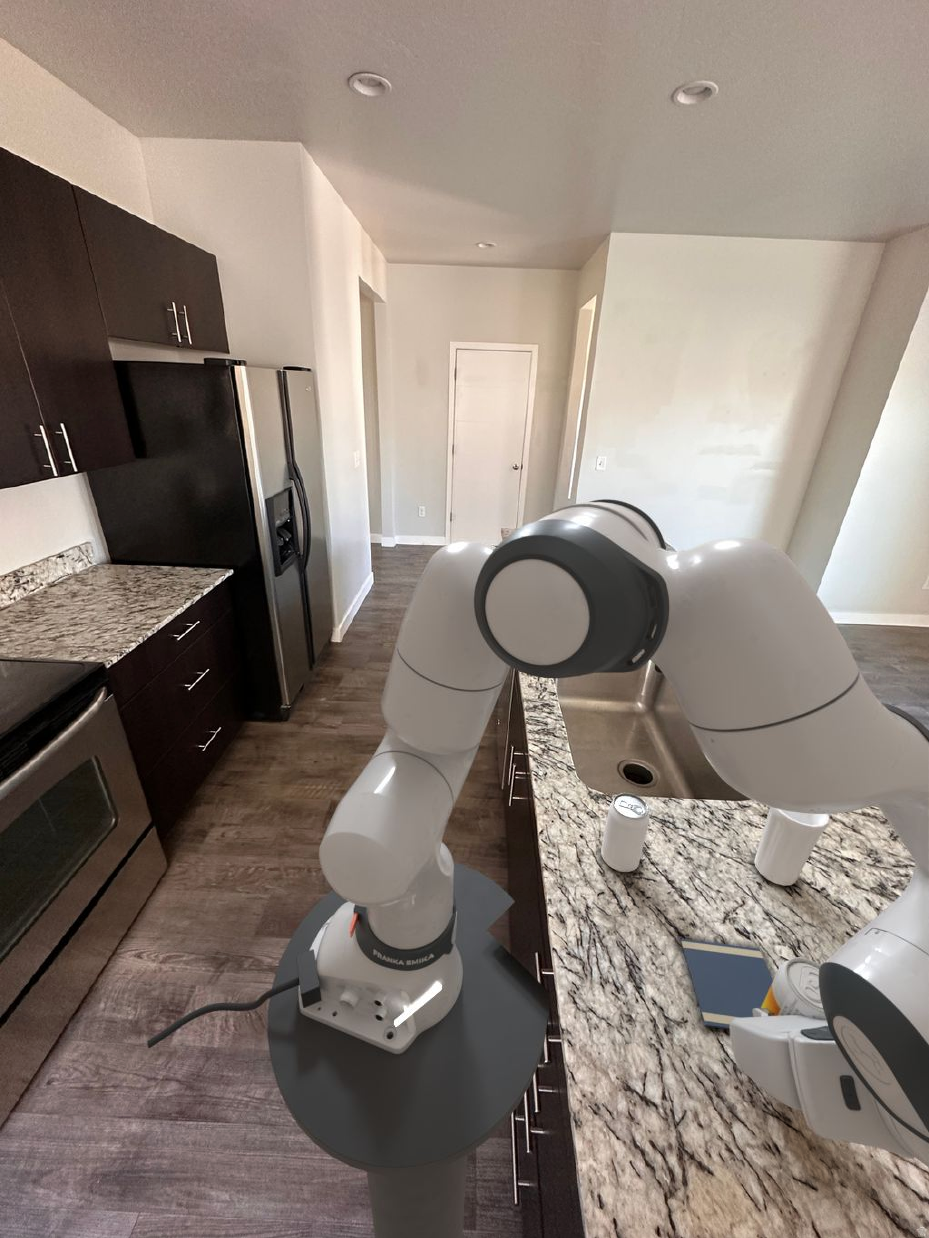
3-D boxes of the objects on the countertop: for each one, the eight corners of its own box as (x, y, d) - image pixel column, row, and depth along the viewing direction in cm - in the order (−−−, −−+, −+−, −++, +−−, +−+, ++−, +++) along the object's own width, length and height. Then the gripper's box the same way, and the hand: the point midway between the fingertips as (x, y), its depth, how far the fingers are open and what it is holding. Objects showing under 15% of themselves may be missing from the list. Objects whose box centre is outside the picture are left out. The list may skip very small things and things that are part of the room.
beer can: (811, 1064, 56) (856, 984, 50) (797, 1113, 52) (844, 1033, 46) (754, 1020, 60) (789, 941, 54) (737, 1062, 56) (773, 982, 50)
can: (633, 880, 81) (646, 826, 76) (595, 862, 84) (605, 809, 79) (642, 852, 86) (655, 800, 81) (606, 836, 89) (616, 785, 84)
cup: (787, 853, 86) (812, 791, 81) (812, 895, 79) (842, 830, 73) (739, 848, 87) (761, 786, 81) (760, 889, 80) (785, 825, 74)
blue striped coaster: (704, 1026, 62) (705, 1024, 62) (680, 939, 72) (680, 938, 72) (796, 1039, 61) (797, 1037, 61) (758, 950, 71) (759, 948, 71)
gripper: (1006, 1027, 42) (872, 975, 55) (779, 1040, 41) (696, 984, 54) (1039, 1122, 40) (891, 1045, 53) (800, 1139, 38) (708, 1056, 51)
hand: (791, 1014), depth 53 cm, fingers closed on beer can, 6 cm apart
